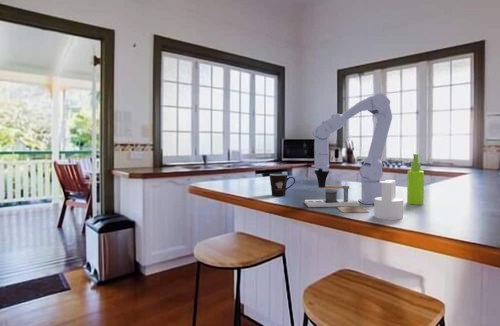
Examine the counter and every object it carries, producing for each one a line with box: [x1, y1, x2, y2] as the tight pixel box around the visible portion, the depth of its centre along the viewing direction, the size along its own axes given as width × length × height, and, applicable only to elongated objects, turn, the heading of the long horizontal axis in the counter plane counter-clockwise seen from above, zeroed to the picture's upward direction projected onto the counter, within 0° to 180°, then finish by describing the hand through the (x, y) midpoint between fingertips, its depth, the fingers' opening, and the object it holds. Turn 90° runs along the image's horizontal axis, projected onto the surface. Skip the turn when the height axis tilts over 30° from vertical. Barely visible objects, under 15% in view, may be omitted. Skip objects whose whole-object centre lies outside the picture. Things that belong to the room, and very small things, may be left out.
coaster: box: [336, 206, 369, 214], centre depth 124 cm, size 9×9×1 cm
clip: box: [317, 184, 350, 190], centre depth 137 cm, size 12×3×1 cm, turn 69°
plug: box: [324, 188, 338, 203], centre depth 136 cm, size 5×5×6 cm
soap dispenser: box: [406, 153, 425, 206], centre depth 135 cm, size 6×7×20 cm
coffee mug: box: [269, 173, 296, 197], centre depth 160 cm, size 12×9×10 cm
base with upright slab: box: [373, 179, 404, 221], centre depth 113 cm, size 9×9×12 cm
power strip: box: [304, 189, 360, 208], centre depth 136 cm, size 20×9×6 cm, turn 89°
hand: (321, 187), depth 138 cm, fingers closed, pressing on clip
